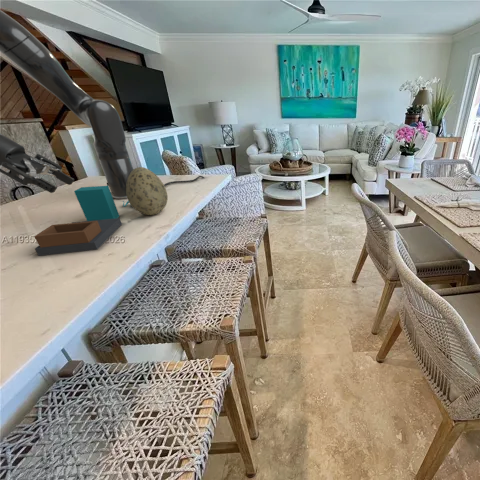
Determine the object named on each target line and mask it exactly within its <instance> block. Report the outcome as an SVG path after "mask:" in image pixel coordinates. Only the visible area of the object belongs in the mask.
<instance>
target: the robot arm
mask: <svg viewBox="0 0 480 480" xmlns="http://www.w3.org/2000/svg"><path fill="white" fill-rule="evenodd" d="M0 53H1V54H2V55H4V56H5V57H6V58H7V59H8V60H10V61H11V62H12V63H13V64H14V65H16V66H17V67H18V68H20V70H22V71H23V72H25V73H26V74H27V75H28V76H29V77H31V78H32V79H33V80H35V81H36V82H37V83H38V84H40V85H41V86H42V87H44V88H45V89H46V90H47V91H49V92H50V93H51V94H52V95H54V96H55V97H56V98H58V100H60V101H61V102H62V103H63V104H64V105H65V106H66V107H67V108H68V109H69V110H70V111H71V112H72V113H73V114H74V115H75V116H76V117H77V118H78V119H79V120H80V121H81V122H83V123H84V124H85V125H86V126H88V127H90V128H91V130H92V132H93V133H92V134H93V136H94V141H93V143H92V144H93V148H94V150H95V153H96V156H97V158H98V160H99V164H100V167H101V169H102V171H103V174H104V177H105V179H106V186H109V189H110V192H111V194H112V197H113V199H115V200H116V199H117V200H118V199H119V200H123V199H128V198H127V195H126V183H127V179H128V177H129V175H130V173H131V172H132V171H133V170H134V169H135V168H134V167H133V164H132V161H131V158H130V154H129V151H128V149H127V145H126V140H127V139H126V134H125V131H124V127H123V122H122V120H121V117H120V114H119V112H118V111H117V109H116V107H114V105H113V104H112V103H109V102H108V101H106V100H103V99H95V98H93V97H92V96H90V95H89V94H88V93H87V92H85V91H84V90H83V89H82V88H81V87H80V86H79V85H78V84H77V83H75V82H74V80H73V79H72V78H71V77H70V76H69V74H68V73H67V72H66V70H65V69H64V67H63V66H62V65H61V62H59V61H58V59H57V57H55V56H54V54H53V53H52V52H51V51H50V50H49V49H48V48H47V47H46V46H45V45H44V44H43V43H42V42H41V41H40V40H39V39H38V38H37V37H36V36H34V34H32V33H31V32H30V31H29V30H28V29H27V28H26V27H24V26H23V25H22V24H20V23H19V22H18V21H17V20H16V19H14V17H13V18H12V17H11V15H9V14H7V13H6V12H4V11H2V10H1V9H0ZM25 151H26V149H25V147H24V146H23V145H21V144H20V143H18V142H16V141H14V140H13V139H11V138H9V137H7V136H6V135H4V134H2V133H1V132H0V173H1V174H4V175H5V176H6V177H9V178H10V179H12V180H13V181H16V182H18V183H19V184H21V185H23V186H28V185H32V186H37V187H38V188H41V189H42V190H44V191H46V192H48V193H50V194H53V193H55V192H56V190H58V186H57V185H55V184H53V183H51V182H50V181H48V180H46V179H44V178H43V177H40V176H39V175H42V176H47V175H48V176H51V177H55V178H56V179H57V180H59V181H61V182H62V183H64V184H66V185H68V186H70V185H72V184H73V183H74V182H75V178H74V177H71V176H70V175H68V174H66V173H65V172H63V171H62V168H63V166H62V165H59V164H58V163H56V162H55V161H52V160H50V159H49V158H47V157H45V156H44V155H41V154H40V153H37V154H35V156H31V155H30V154H27V153H26V152H25ZM19 176H21V177H19ZM200 178H201V179H205V176H203V175H198V176H197V177H195V178H194V179H189V180H173V181H169V182H166V183H163V184H164V186H165V187H166V186H168V185H171V184H179V183H192V182H196V181H198V180H199V179H200Z"/></svg>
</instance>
